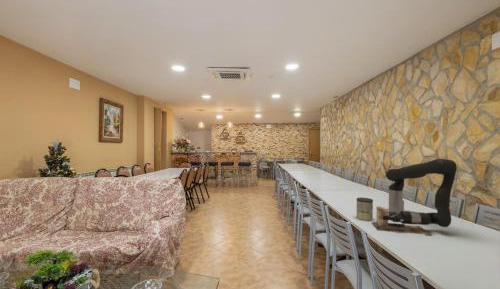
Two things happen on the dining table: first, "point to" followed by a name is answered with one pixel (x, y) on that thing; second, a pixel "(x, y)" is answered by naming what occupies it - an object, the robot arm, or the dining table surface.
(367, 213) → the coffee can
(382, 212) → the birch block
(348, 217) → the dining table surface
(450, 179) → the robot arm
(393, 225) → the board
